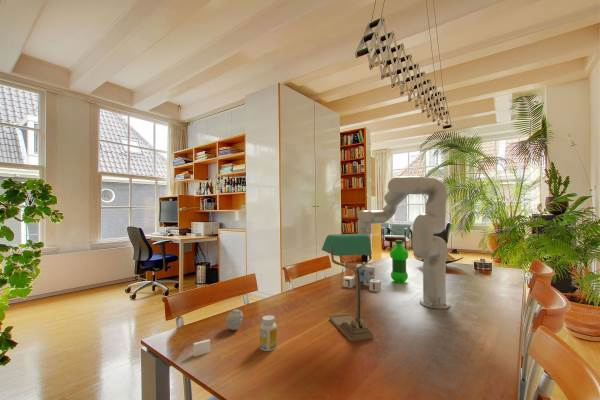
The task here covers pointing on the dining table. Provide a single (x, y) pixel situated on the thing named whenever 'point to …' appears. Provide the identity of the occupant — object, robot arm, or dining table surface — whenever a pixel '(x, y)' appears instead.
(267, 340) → the supplement bottle
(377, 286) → the numbered block 1
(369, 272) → the light bulb box
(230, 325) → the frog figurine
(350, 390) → the dining table surface
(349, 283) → the numbered block 7
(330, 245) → the banker's lamp
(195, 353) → the eraser
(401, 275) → the plastic bottle
